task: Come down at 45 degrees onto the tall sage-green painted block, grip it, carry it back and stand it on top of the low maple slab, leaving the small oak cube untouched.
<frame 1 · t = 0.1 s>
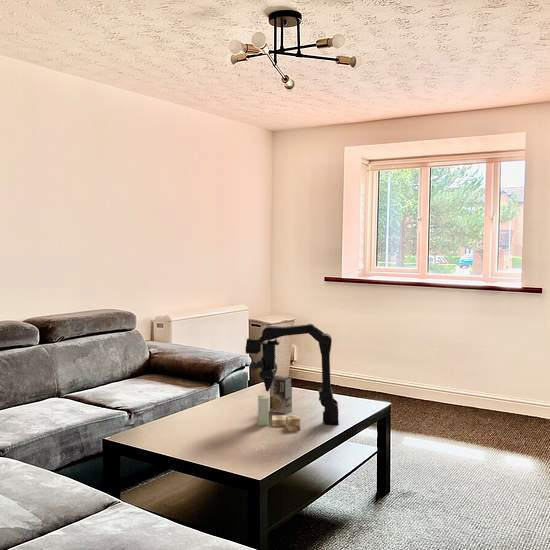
hand: (268, 388, 267), 15 cm above the table, tool pointing down, fingers open, 9 cm apart
oak cube: (292, 428, 257), on the table
coffee box: (280, 411, 283), on the table
maple slab: (280, 424, 264), on the table
sage block: (263, 423, 264), on the table
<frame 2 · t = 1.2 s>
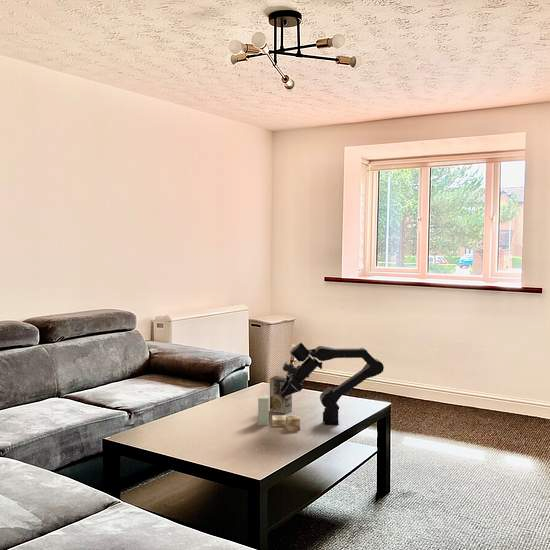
hand: (281, 393, 263), 13 cm above the table, tool tilted 45°, fingers open, 9 cm apart
nothing on the table moved.
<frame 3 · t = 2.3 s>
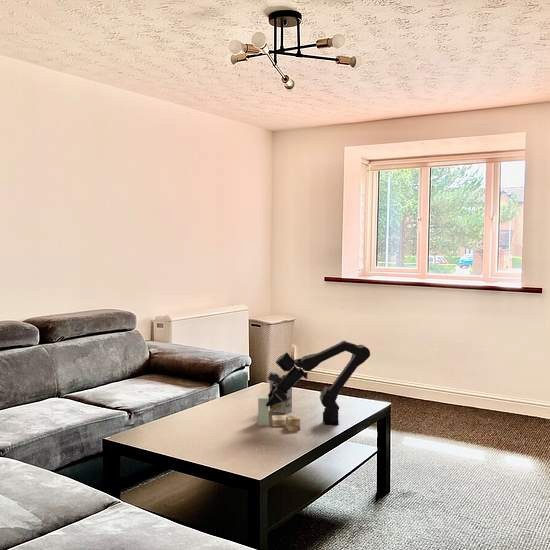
hand: (266, 403, 263), 9 cm above the table, tool tilted 45°, fingers open, 9 cm apart
nothing on the table moved.
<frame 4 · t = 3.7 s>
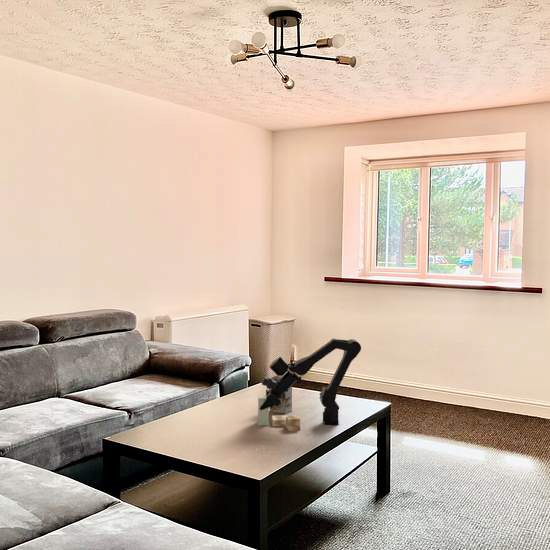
hand: (260, 407, 263), 7 cm above the table, tool tilted 45°, fingers closed on sage block, 4 cm apart
sage block: (263, 423, 264), on the table, touching gripper
everything else where it was.
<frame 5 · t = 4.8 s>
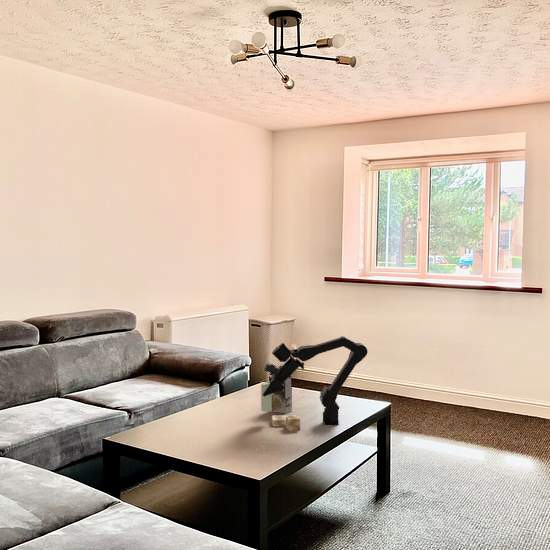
hand: (263, 394, 263), 13 cm above the table, tool tilted 45°, fingers closed on sage block, 4 cm apart
sage block: (266, 410, 263), point 6 cm above the table, touching gripper
everything else where it was.
when the fingers open (11 cm above the table, at t = 6.2 s): sage block drops 1 cm, resting on maple slab.
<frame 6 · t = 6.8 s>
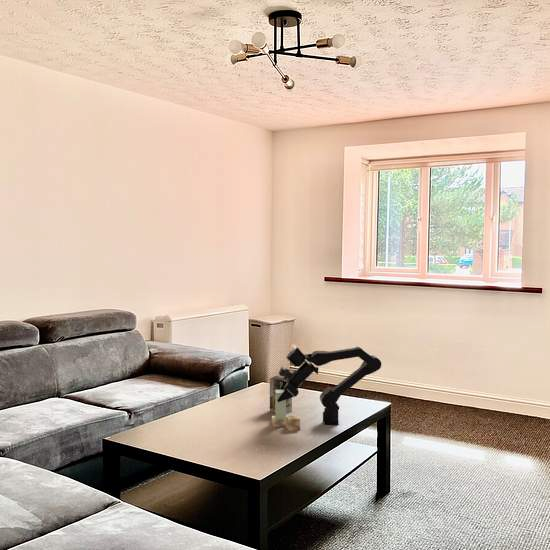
hand: (277, 398, 263), 11 cm above the table, tool tilted 45°, fingers open, 9 cm apart
maple slab: (280, 424, 264), on the table, touching sage block
sage block: (280, 417, 264), point 3 cm above the table, touching maple slab
everything else where it was.
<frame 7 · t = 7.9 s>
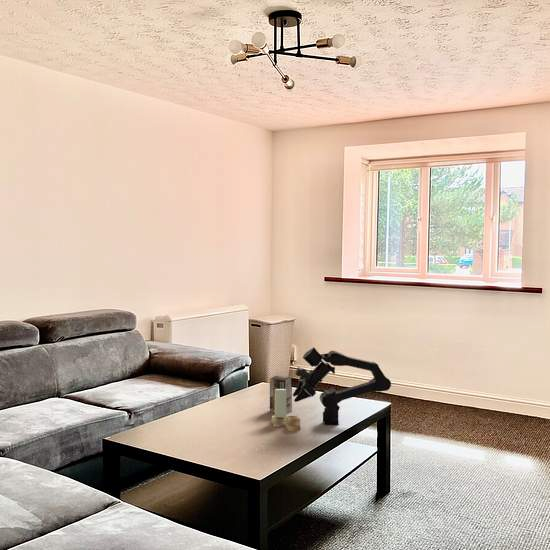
hand: (294, 398, 264), 11 cm above the table, tool tilted 45°, fingers open, 9 cm apart
maple slab: (280, 424, 264), on the table
sage block: (280, 416, 264), point 3 cm above the table, tilted 8°
everything else where it was.
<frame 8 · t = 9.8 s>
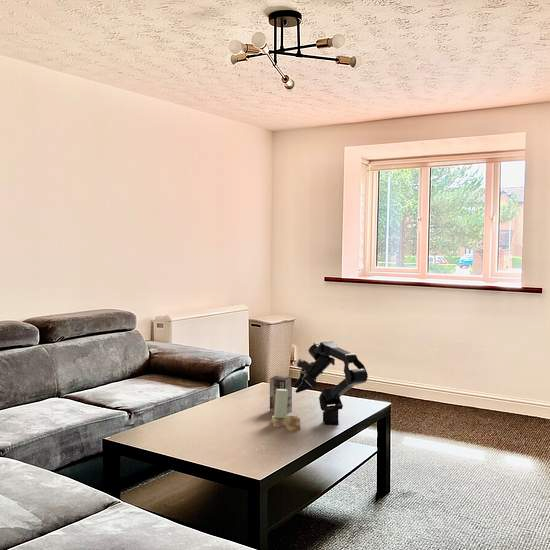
hand: (295, 389, 270), 14 cm above the table, tool tilted 45°, fingers open, 9 cm apart
maple slab: (280, 424, 264), on the table, touching sage block
sage block: (280, 416, 264), point 3 cm above the table, tilted 7°, touching maple slab
everything else where it was.
at the end: sage block 0.4 cm off-centre on the maple slab, point 3.4 cm above the maple slab's base; sage block tilted 7°; the gripper is holding nothing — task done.
